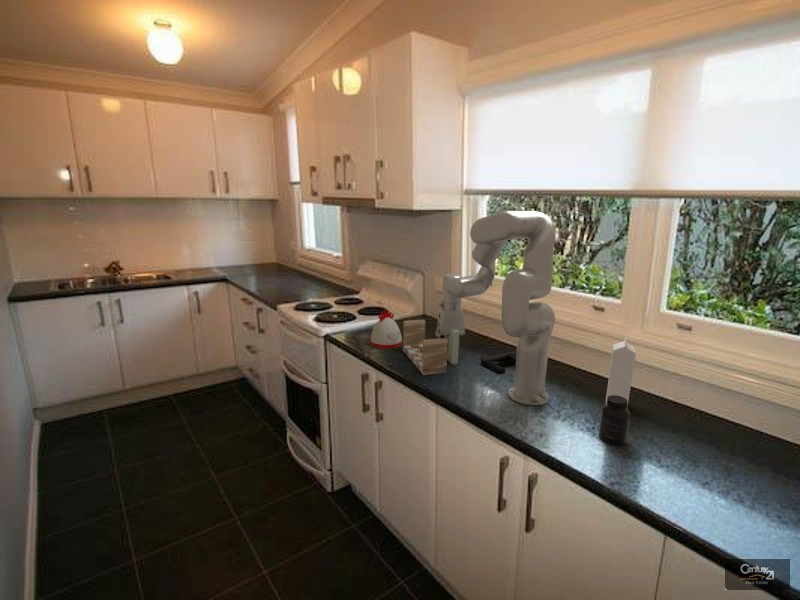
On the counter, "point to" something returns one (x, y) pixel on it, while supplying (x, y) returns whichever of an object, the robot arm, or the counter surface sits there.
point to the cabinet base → (424, 348)
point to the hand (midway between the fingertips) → (449, 349)
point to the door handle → (498, 367)
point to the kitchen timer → (386, 332)
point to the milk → (621, 370)
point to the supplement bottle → (614, 421)
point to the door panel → (453, 346)
